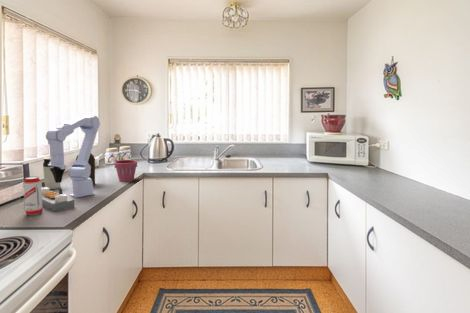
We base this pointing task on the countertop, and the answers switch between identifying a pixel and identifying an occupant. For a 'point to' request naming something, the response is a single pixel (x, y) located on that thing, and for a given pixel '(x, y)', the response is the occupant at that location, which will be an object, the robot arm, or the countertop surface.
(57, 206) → the power strip
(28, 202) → the beer can
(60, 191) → the right plug
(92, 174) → the olive oil
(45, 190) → the left plug
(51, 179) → the travel mug
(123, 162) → the plant pot
